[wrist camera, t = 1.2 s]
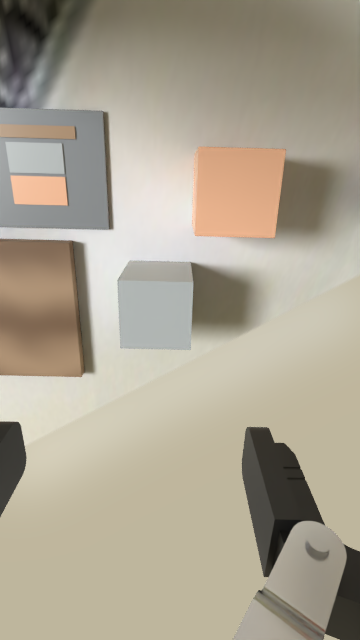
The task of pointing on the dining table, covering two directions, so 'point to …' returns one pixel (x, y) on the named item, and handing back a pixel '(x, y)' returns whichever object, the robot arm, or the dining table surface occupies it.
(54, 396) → the dining table surface
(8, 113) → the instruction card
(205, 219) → the peach orange block
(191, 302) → the slate brick
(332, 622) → the robot arm
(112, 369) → the dining table surface
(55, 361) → the walnut base plate
